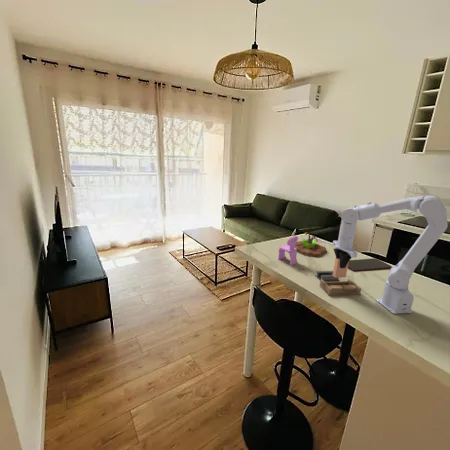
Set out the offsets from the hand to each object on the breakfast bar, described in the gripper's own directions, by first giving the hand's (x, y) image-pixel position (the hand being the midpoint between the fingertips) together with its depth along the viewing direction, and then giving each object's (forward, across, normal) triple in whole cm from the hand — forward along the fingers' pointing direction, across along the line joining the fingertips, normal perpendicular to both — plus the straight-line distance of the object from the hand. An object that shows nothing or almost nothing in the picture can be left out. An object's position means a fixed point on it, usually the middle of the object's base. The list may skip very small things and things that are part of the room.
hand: (340, 266), depth 107 cm
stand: (+10, -9, 0) cm, 13 cm away
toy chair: (+11, -29, -12) cm, 33 cm away
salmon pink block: (+5, 0, 0) cm, 5 cm away
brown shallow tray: (+10, +2, 0) cm, 11 cm away
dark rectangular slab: (+11, -22, +29) cm, 38 cm away
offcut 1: (+10, +4, -3) cm, 11 cm away
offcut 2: (+10, +4, +3) cm, 11 cm away
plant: (+11, -45, +7) cm, 47 cm away
